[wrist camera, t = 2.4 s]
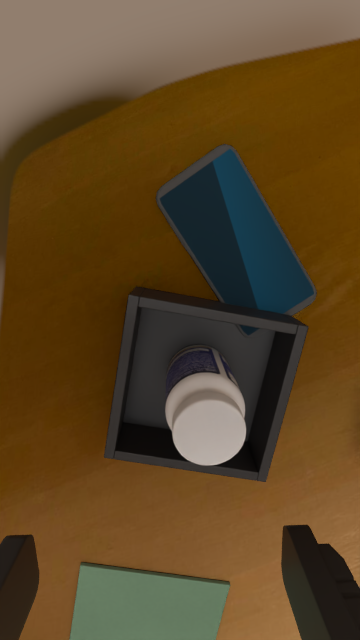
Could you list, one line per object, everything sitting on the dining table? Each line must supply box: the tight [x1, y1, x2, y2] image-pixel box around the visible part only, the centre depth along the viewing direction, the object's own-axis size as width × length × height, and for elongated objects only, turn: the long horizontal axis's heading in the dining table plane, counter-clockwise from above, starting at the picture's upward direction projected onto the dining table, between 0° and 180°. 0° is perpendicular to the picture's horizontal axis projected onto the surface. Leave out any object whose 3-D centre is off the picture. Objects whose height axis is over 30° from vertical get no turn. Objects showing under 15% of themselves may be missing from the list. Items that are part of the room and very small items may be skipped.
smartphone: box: [156, 144, 317, 339], centre depth 28 cm, size 8×15×1 cm, turn 34°
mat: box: [70, 562, 230, 640], centre depth 37 cm, size 16×12×1 cm
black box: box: [104, 286, 308, 482], centre depth 28 cm, size 14×14×5 cm
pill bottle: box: [165, 345, 246, 465], centre depth 26 cm, size 6×6×10 cm
